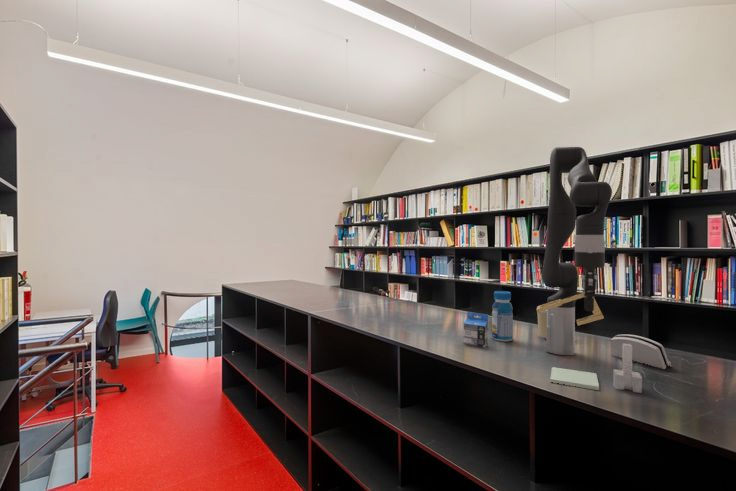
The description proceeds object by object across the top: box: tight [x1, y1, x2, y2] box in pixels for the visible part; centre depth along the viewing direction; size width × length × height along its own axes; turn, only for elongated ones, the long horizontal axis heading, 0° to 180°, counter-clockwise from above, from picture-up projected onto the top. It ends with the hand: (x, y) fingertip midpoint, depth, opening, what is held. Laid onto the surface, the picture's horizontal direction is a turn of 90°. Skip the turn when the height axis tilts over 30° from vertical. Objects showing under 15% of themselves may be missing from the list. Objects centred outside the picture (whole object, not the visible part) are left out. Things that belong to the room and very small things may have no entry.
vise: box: [612, 344, 643, 394], centre depth 106 cm, size 6×11×12 cm, turn 152°
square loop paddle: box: [536, 290, 605, 327], centre depth 110 cm, size 16×7×8 cm, turn 62°
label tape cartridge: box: [463, 311, 489, 348], centre depth 148 cm, size 9×4×12 cm, turn 53°
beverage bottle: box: [491, 290, 514, 342], centre depth 156 cm, size 8×8×20 cm
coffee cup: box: [536, 310, 547, 339], centre depth 161 cm, size 9×9×12 cm
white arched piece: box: [610, 333, 672, 370], centre depth 127 cm, size 17×5×10 cm, turn 26°
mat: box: [549, 366, 600, 391], centre depth 109 cm, size 12×12×1 cm
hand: (588, 309), depth 108 cm, fingers closed on square loop paddle
